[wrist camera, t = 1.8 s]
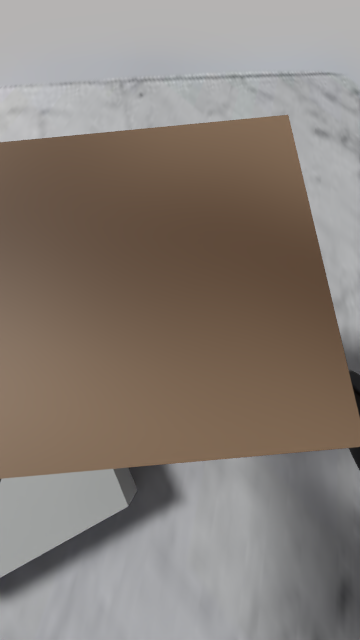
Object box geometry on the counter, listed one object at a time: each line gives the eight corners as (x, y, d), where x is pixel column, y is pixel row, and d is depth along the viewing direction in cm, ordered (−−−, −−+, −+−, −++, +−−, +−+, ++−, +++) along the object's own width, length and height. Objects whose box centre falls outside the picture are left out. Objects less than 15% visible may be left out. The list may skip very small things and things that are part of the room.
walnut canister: (227, 409, 17) (366, 446, 4) (135, 417, 17) (-56, 483, 4) (216, 320, 18) (288, 114, 5) (131, 327, 18) (-18, 144, 5)
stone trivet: (138, 487, 16) (128, 506, 14) (-31, 581, 16) (-82, 622, 13) (74, 334, 19) (53, 322, 16) (-76, 406, 18) (-126, 408, 15)
